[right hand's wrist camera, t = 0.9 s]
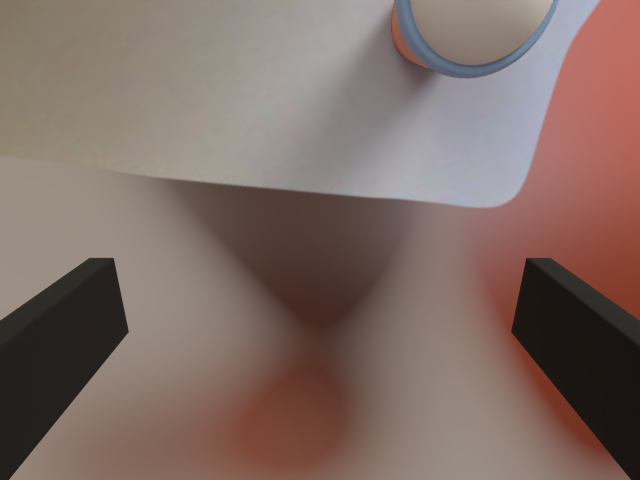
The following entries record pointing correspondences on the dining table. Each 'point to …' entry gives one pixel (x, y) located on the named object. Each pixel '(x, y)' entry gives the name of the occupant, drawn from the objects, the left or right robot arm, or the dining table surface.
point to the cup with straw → (468, 33)
